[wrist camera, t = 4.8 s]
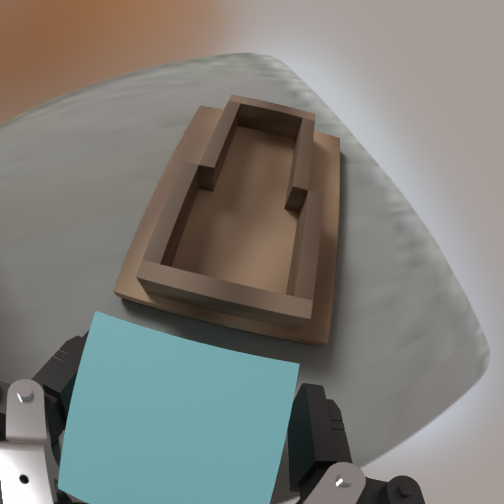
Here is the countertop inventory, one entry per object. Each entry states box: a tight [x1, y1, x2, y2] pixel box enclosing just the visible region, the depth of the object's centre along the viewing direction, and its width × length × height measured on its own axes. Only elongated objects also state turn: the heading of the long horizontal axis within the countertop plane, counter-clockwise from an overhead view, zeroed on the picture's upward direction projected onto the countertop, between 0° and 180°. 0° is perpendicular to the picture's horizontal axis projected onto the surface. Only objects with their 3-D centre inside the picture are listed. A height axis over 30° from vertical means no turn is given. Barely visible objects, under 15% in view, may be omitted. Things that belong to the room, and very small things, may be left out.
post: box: [58, 311, 300, 504], centre depth 10 cm, size 4×4×12 cm
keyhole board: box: [113, 95, 340, 346], centre depth 20 cm, size 13×18×4 cm
